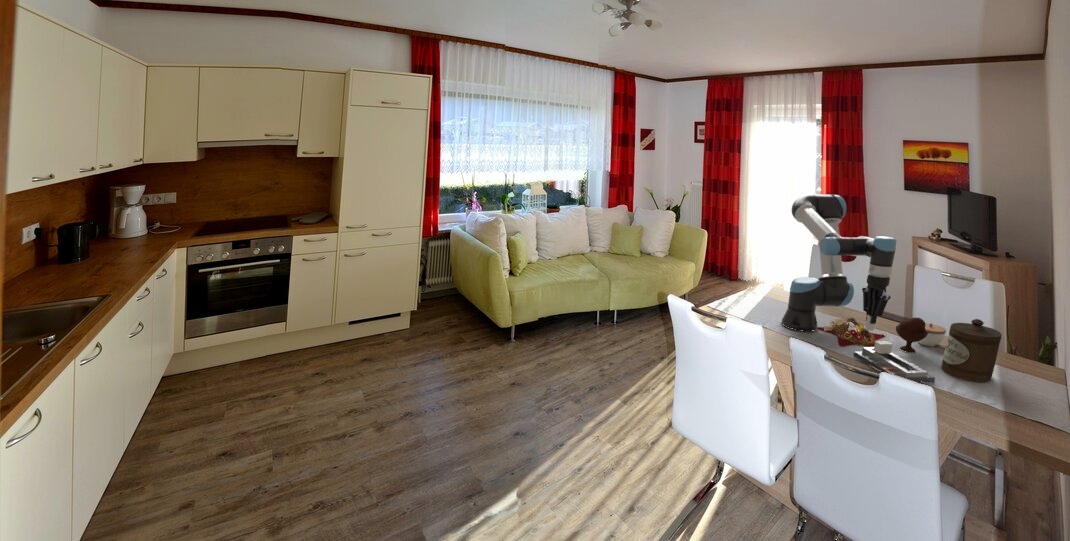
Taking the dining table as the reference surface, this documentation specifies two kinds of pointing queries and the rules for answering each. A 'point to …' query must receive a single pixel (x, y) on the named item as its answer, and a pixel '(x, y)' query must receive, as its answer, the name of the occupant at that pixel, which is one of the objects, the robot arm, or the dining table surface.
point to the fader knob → (883, 348)
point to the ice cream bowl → (911, 332)
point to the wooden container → (971, 351)
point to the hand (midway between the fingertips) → (869, 329)
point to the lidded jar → (933, 335)
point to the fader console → (893, 365)
